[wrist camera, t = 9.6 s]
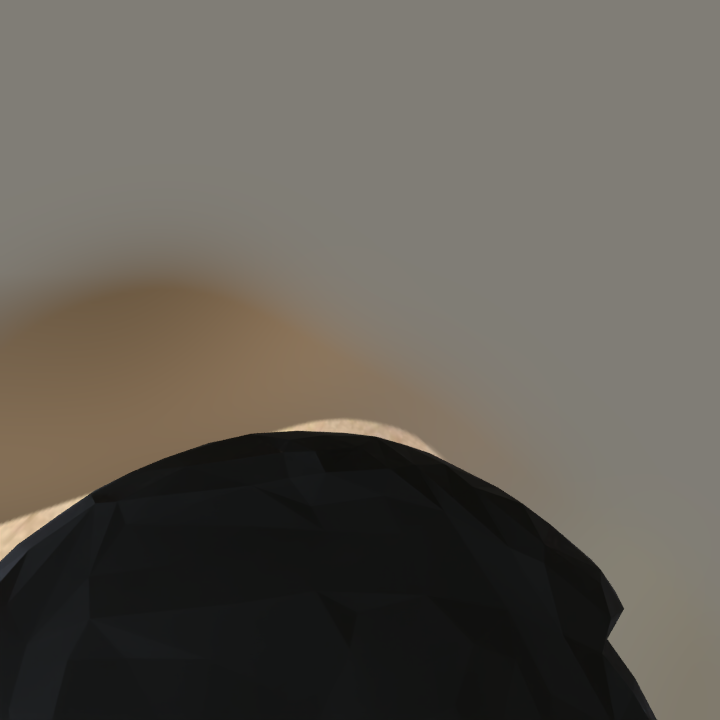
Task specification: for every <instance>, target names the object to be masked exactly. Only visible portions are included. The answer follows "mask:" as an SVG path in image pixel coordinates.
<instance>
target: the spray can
mask: <svg viewBox="0 0 720 720" xmlns="http://www.w3.org/2000/svg"><path fill="white" fill-rule="evenodd" d="M623 610H624V608H623V606H622V604H621V602H620V600H619V598H618V596H617V594H616V592H615V590H614V589H613V587H612V586H611V585H610V583H609V581H608V580H607V579H606V577H605V576H604V574H603V573H602V571H601V570H600V569H599V567H598V566H597V565H596V564H595V563H594V562H593V561H592V560H591V559H590V558H589V557H588V556H586V555H585V554H584V553H583V552H582V551H581V550H579V549H578V548H577V547H576V546H575V545H574V544H572V543H571V542H570V541H569V540H568V539H566V538H565V537H564V536H563V535H562V534H561V533H559V532H558V531H557V530H556V529H555V528H554V527H553V526H551V525H550V524H549V523H548V522H546V521H545V520H543V519H542V518H541V517H540V516H538V515H537V514H536V513H534V512H533V511H532V510H530V509H529V508H527V507H526V506H525V505H524V504H522V503H520V502H519V501H518V500H516V499H515V498H513V497H512V496H510V495H508V494H507V493H505V492H504V491H502V490H501V489H499V488H498V487H496V486H494V485H492V484H490V483H488V482H486V481H484V480H482V479H480V478H478V477H476V476H474V475H472V474H470V473H468V472H466V471H464V470H462V469H460V468H458V467H456V466H454V465H452V464H450V463H448V462H446V461H444V460H442V459H440V458H438V457H436V456H434V455H432V454H430V453H427V452H424V451H421V450H418V449H415V448H412V447H409V446H406V445H403V444H400V443H396V442H393V441H389V440H386V439H382V438H379V437H375V436H366V435H357V434H348V433H333V432H311V431H288V432H272V433H256V434H248V435H244V436H239V437H235V438H231V439H226V440H222V441H217V442H212V443H208V444H205V445H202V446H199V447H196V448H193V449H190V450H187V451H185V452H181V453H178V454H176V455H173V456H170V457H167V458H164V459H162V460H159V461H157V462H155V463H152V464H150V465H147V466H145V467H143V468H140V469H138V470H135V471H133V472H131V473H129V474H127V475H125V476H123V477H121V478H119V479H117V480H115V481H113V482H111V483H109V484H107V485H105V486H103V487H101V488H99V489H97V490H95V491H94V492H92V493H91V494H89V495H88V496H86V497H85V498H83V499H82V500H80V501H79V502H77V503H76V504H74V505H73V506H71V507H70V508H68V509H67V510H65V511H64V512H63V513H61V514H60V515H58V516H57V517H56V518H54V519H53V520H51V521H50V522H49V523H47V524H46V525H44V526H43V527H42V528H40V529H39V530H37V531H36V532H35V533H33V534H32V535H30V536H29V537H28V538H26V539H25V540H23V541H22V542H21V543H19V544H18V545H17V546H16V547H15V548H14V549H13V550H12V551H11V552H10V553H9V554H8V555H6V556H5V557H4V558H3V559H2V560H1V561H0V720H657V719H656V718H655V716H654V714H653V712H652V710H651V708H650V706H649V704H648V702H647V700H646V699H645V696H644V695H643V693H642V691H641V689H640V687H639V685H638V683H637V681H636V679H635V678H634V676H633V675H632V673H631V672H630V671H629V669H628V668H627V666H626V665H625V664H624V662H623V661H622V660H621V658H620V657H619V655H618V654H617V652H616V651H615V650H614V648H613V647H612V646H611V644H610V643H609V641H608V640H607V638H608V636H609V635H610V633H611V631H612V629H613V627H614V626H615V624H616V622H617V620H618V619H619V617H620V615H621V613H622V611H623Z"/></svg>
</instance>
